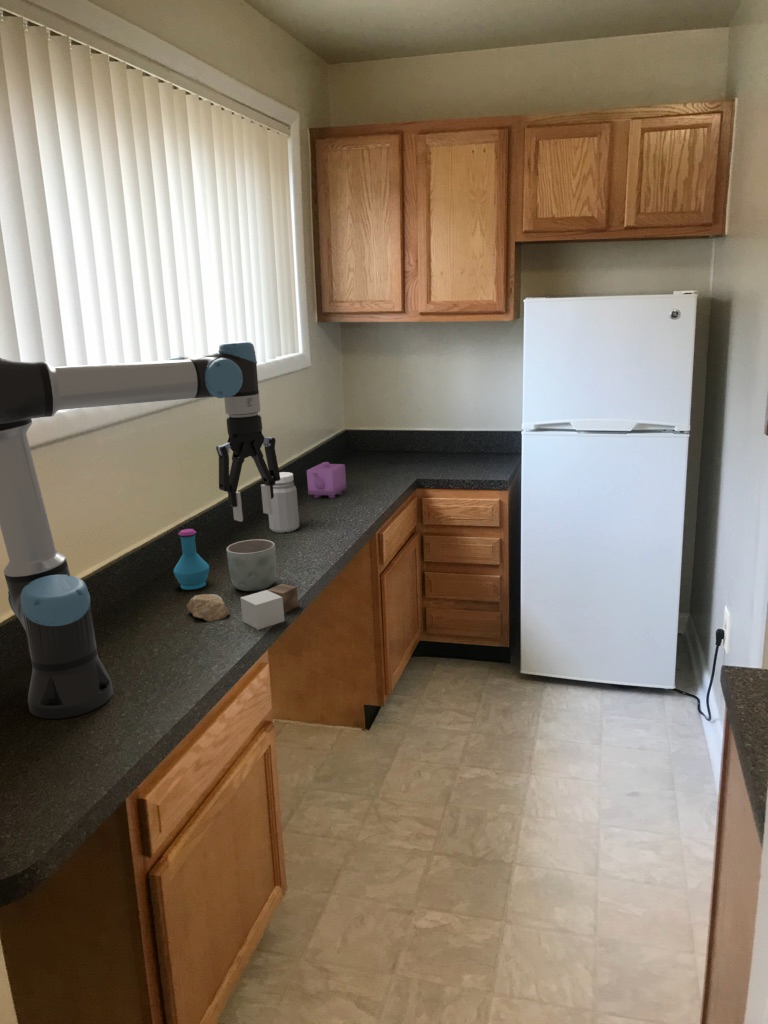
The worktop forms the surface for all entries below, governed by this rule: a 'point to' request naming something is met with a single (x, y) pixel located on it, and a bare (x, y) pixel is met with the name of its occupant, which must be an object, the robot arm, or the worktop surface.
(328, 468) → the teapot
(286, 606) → the walnut block
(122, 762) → the worktop surface
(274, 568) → the planter
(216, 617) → the stone
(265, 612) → the block
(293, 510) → the jar
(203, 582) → the perfume bottle
